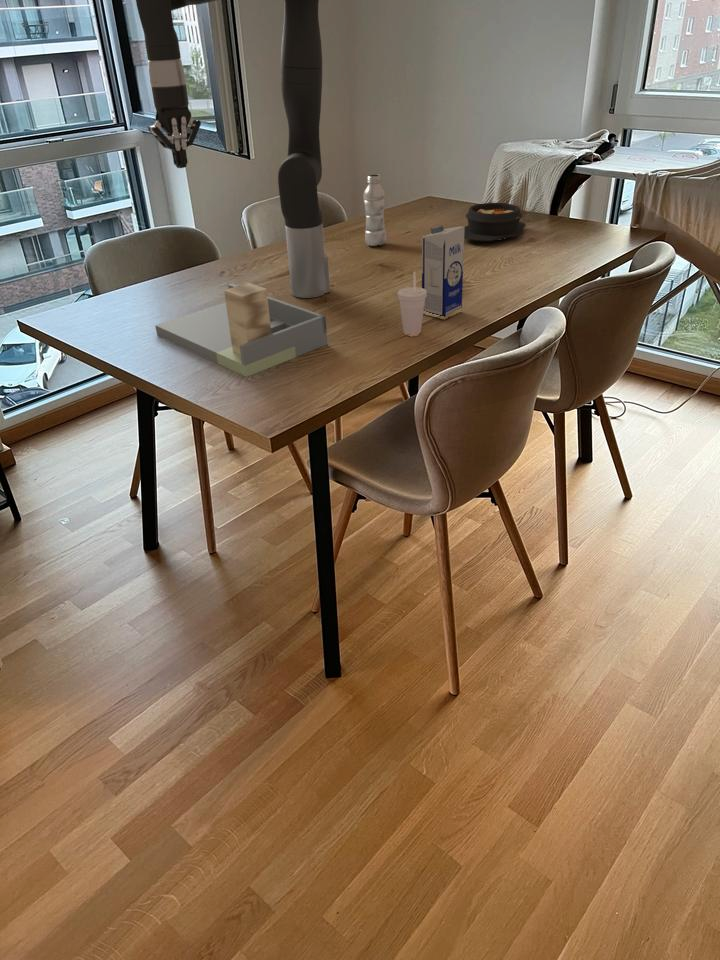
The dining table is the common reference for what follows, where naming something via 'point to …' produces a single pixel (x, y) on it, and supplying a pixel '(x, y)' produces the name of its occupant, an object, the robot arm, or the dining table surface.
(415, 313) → the smoothie
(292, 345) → the trap deck
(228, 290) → the maple block
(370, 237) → the plastic bottle
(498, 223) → the casserole
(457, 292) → the milk carton
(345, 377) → the dining table surface
